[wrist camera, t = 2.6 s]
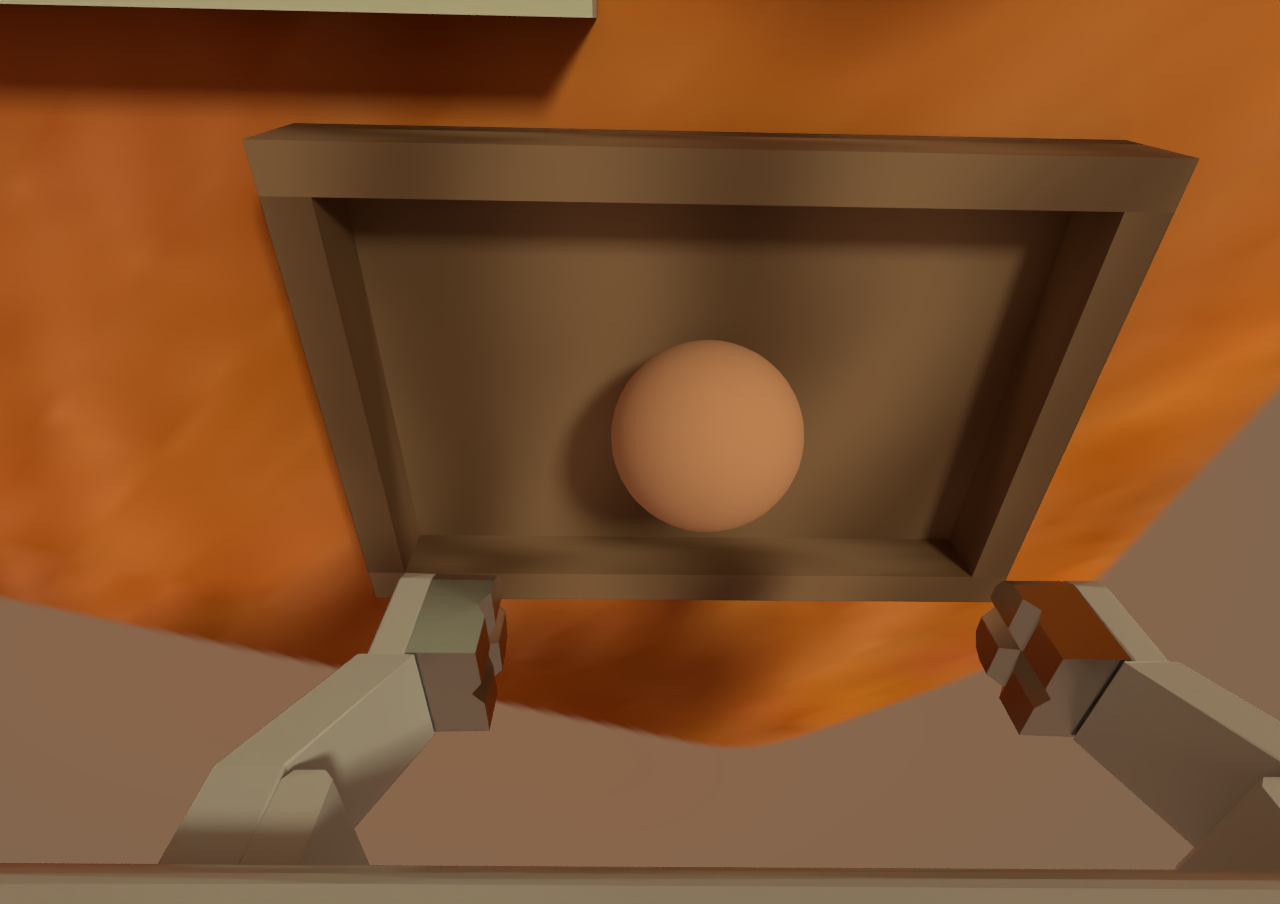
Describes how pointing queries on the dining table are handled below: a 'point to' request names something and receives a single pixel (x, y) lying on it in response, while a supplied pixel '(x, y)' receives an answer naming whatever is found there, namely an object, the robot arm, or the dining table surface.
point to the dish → (704, 310)
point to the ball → (707, 436)
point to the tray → (364, 6)
